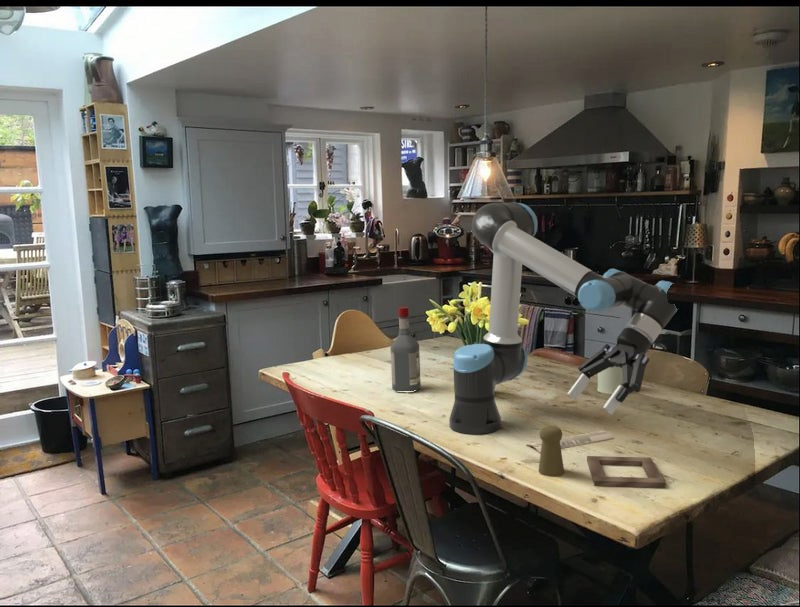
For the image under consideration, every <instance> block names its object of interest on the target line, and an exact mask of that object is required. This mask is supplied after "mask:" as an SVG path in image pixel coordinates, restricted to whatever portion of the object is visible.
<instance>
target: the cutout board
mask: <svg viewBox="0 0 800 607" xmlns="http://www.w3.org/2000/svg"><path fill="white" fill-rule="evenodd" d="M586 461H587V466H588V469H589V472H590V476H591V478H592V483H593V486H598V487H599V486H600V487H625V488H652V489H653V488H656V489H666V482H665V480H664V478H663V477H662V475H661V473H660V471H659V469H658V467H657V466H656V464H655V463H654V460H653V459H652V457H646V456H645V457H643V456H642V457H641V456H607V455H606V456H604V455H602V456H600V455H598V456H597V455H587V456H586ZM602 466H627V467H630V466H632V467H633V466H634V467H635V466H636V467H641V468H642V469H643V470H644V472H645V475H646V477H637V476H636V477H635V476H634V477H633V476H605V474H604V472H603V471H604V470H603V468H602Z"/></svg>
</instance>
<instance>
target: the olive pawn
mask: <svg viewBox="0 0 800 607" xmlns="http://www.w3.org/2000/svg"><path fill="white" fill-rule="evenodd" d="M539 438H540V439H541V442H542V447H541V453H540V457H539V464H538V473H539V474H541V475H542V476H545V477H559V476H562V475H564V474H565V468H564V467H565V466H564V461H563V455H562V454H563V453H562V449H561V446H560V440H561V439H562V438H563V431H562V429H561V428H560V427H558V426H556V425H549V424H548V425H544V426H542V427H541V429H540V431H539Z"/></svg>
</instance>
